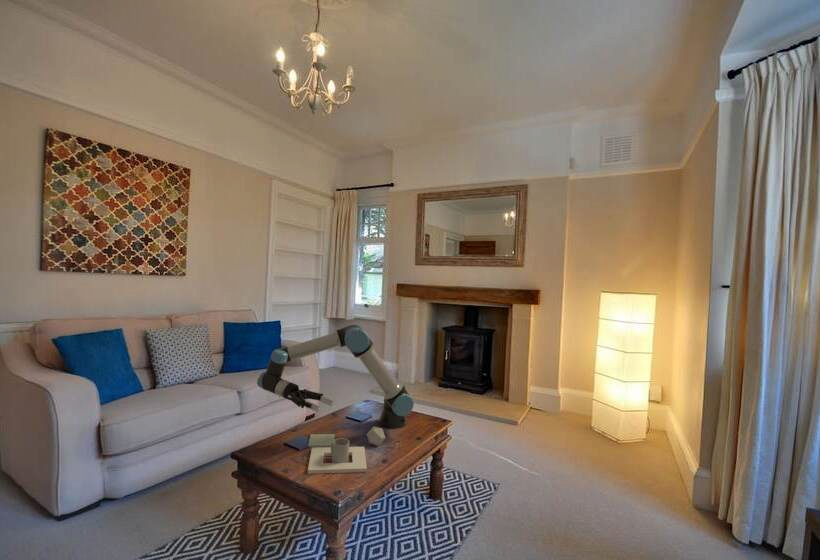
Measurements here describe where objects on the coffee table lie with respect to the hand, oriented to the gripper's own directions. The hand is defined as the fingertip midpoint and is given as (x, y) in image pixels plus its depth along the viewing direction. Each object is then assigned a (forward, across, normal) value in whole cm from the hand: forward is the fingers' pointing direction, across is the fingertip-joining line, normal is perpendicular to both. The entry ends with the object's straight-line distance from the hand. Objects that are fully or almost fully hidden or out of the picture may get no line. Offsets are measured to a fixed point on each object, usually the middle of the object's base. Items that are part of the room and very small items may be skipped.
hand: (325, 406), depth 167 cm
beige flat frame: (+14, +1, -20) cm, 24 cm away
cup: (+14, +1, -20) cm, 24 cm away
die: (+22, -21, -15) cm, 34 cm away
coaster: (-2, -13, -21) cm, 25 cm away
